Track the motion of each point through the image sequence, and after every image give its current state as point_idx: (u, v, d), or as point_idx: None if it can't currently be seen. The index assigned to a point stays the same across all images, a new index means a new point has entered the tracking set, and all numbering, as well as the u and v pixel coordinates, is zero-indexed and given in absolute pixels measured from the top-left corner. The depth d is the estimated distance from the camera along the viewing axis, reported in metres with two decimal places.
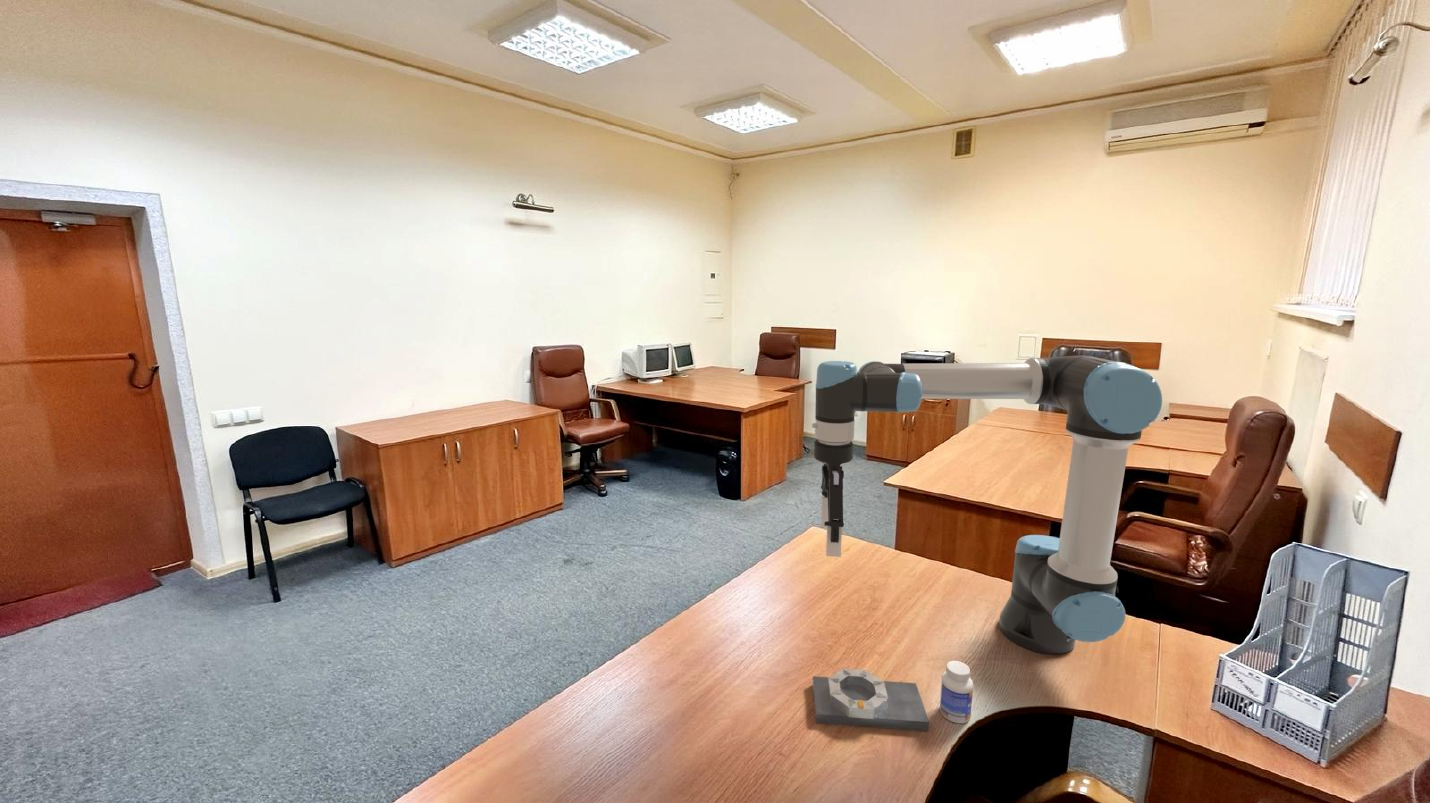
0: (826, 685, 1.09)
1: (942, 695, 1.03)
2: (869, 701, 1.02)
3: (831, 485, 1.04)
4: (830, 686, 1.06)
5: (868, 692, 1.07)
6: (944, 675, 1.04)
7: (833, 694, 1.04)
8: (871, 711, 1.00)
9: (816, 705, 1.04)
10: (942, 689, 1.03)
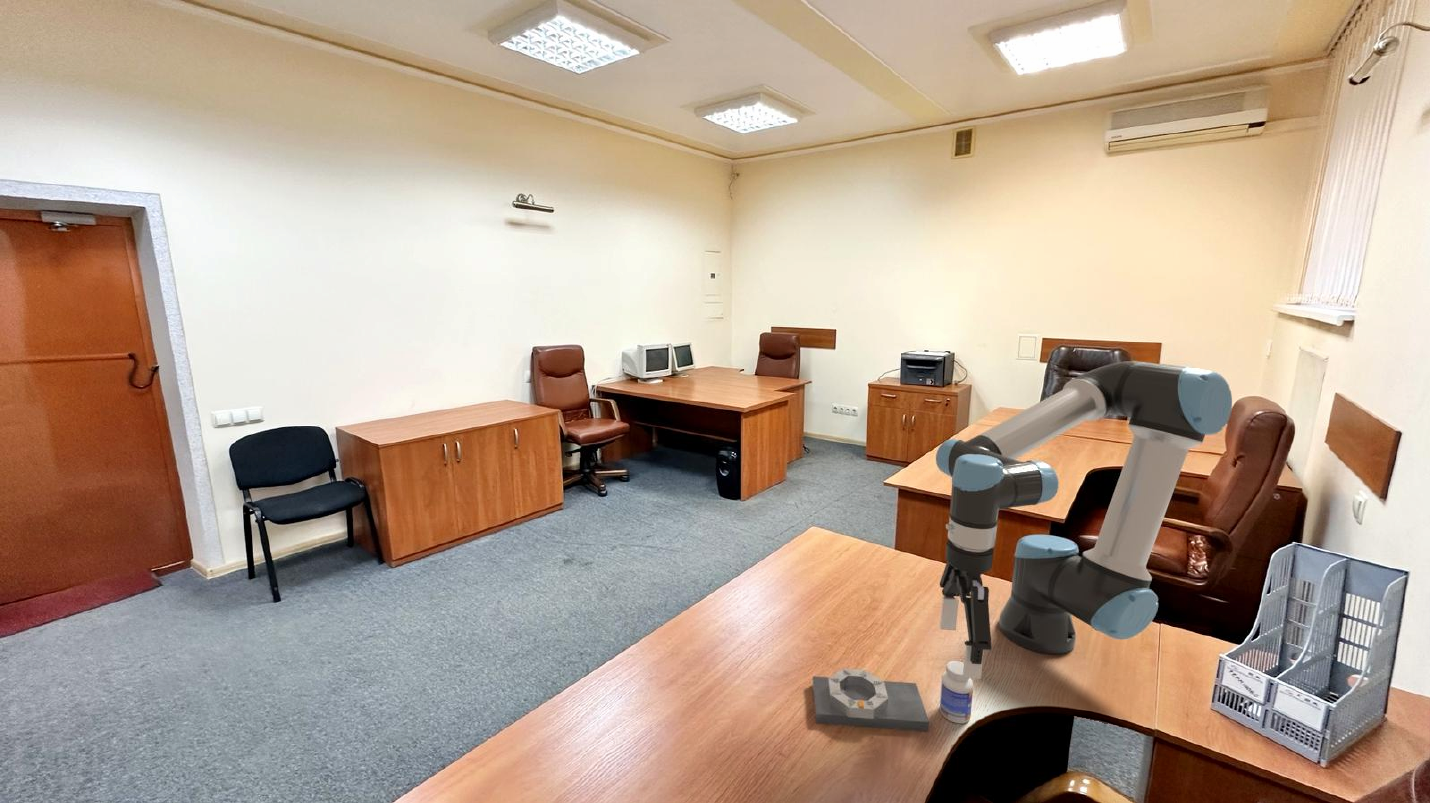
0: (826, 685, 1.09)
1: (942, 695, 1.03)
2: (869, 701, 1.02)
3: (975, 600, 0.92)
4: (830, 686, 1.06)
5: (868, 692, 1.07)
6: (944, 675, 1.04)
7: (833, 694, 1.04)
8: (871, 711, 1.00)
9: (816, 705, 1.04)
10: (942, 689, 1.03)
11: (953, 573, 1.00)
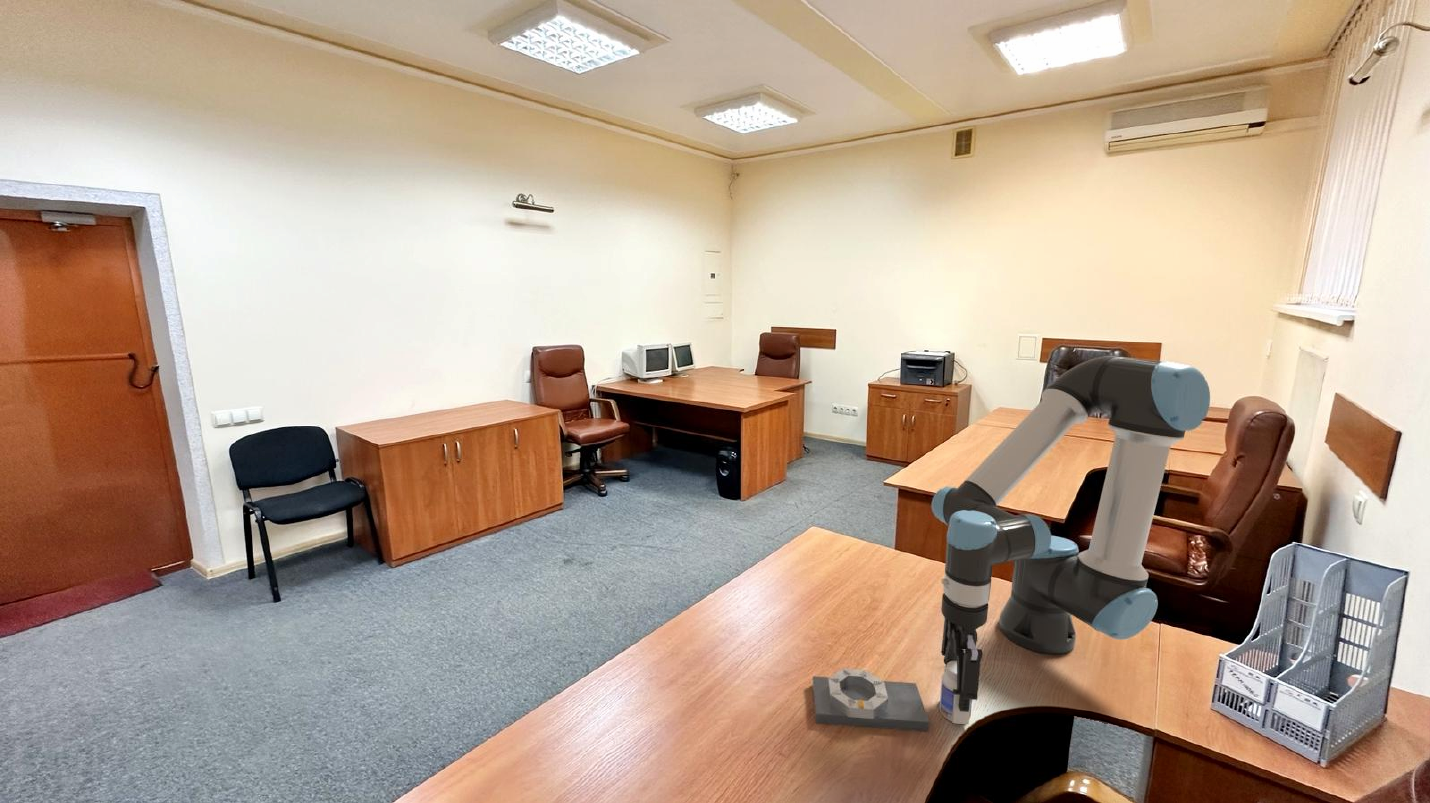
0: (826, 685, 1.09)
1: (942, 695, 1.03)
2: (869, 701, 1.02)
3: (967, 661, 0.95)
4: (830, 686, 1.06)
5: (868, 692, 1.07)
6: (944, 675, 1.04)
7: (833, 694, 1.04)
8: (871, 711, 1.00)
9: (816, 705, 1.04)
10: (942, 689, 1.03)
11: (949, 625, 1.02)
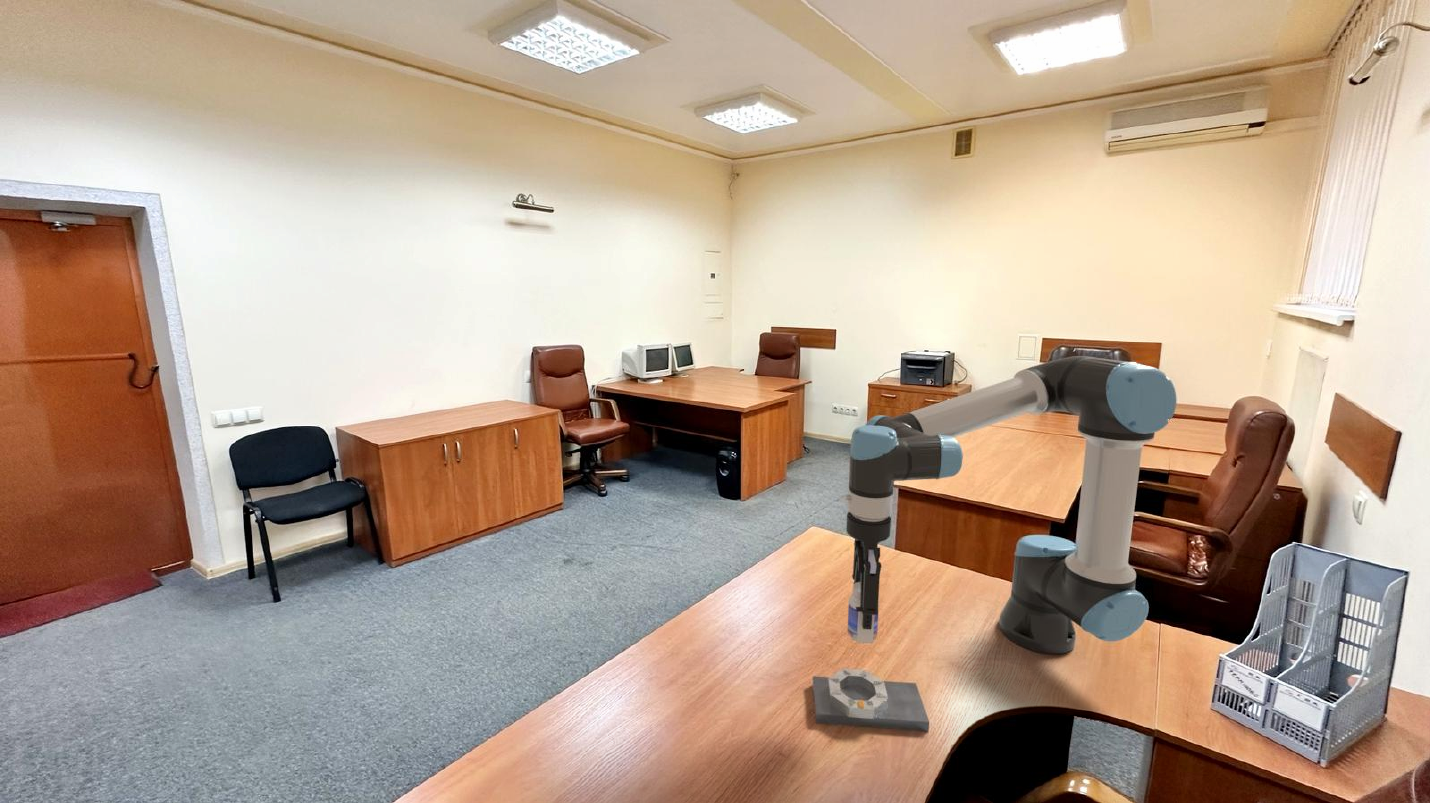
0: (826, 685, 1.09)
1: (849, 616, 1.02)
2: (869, 701, 1.02)
3: (867, 574, 0.94)
4: (830, 686, 1.06)
5: (868, 692, 1.07)
6: (851, 596, 1.02)
7: (833, 694, 1.04)
8: (871, 711, 1.00)
9: (816, 705, 1.04)
10: (848, 610, 1.02)
11: (855, 544, 1.01)
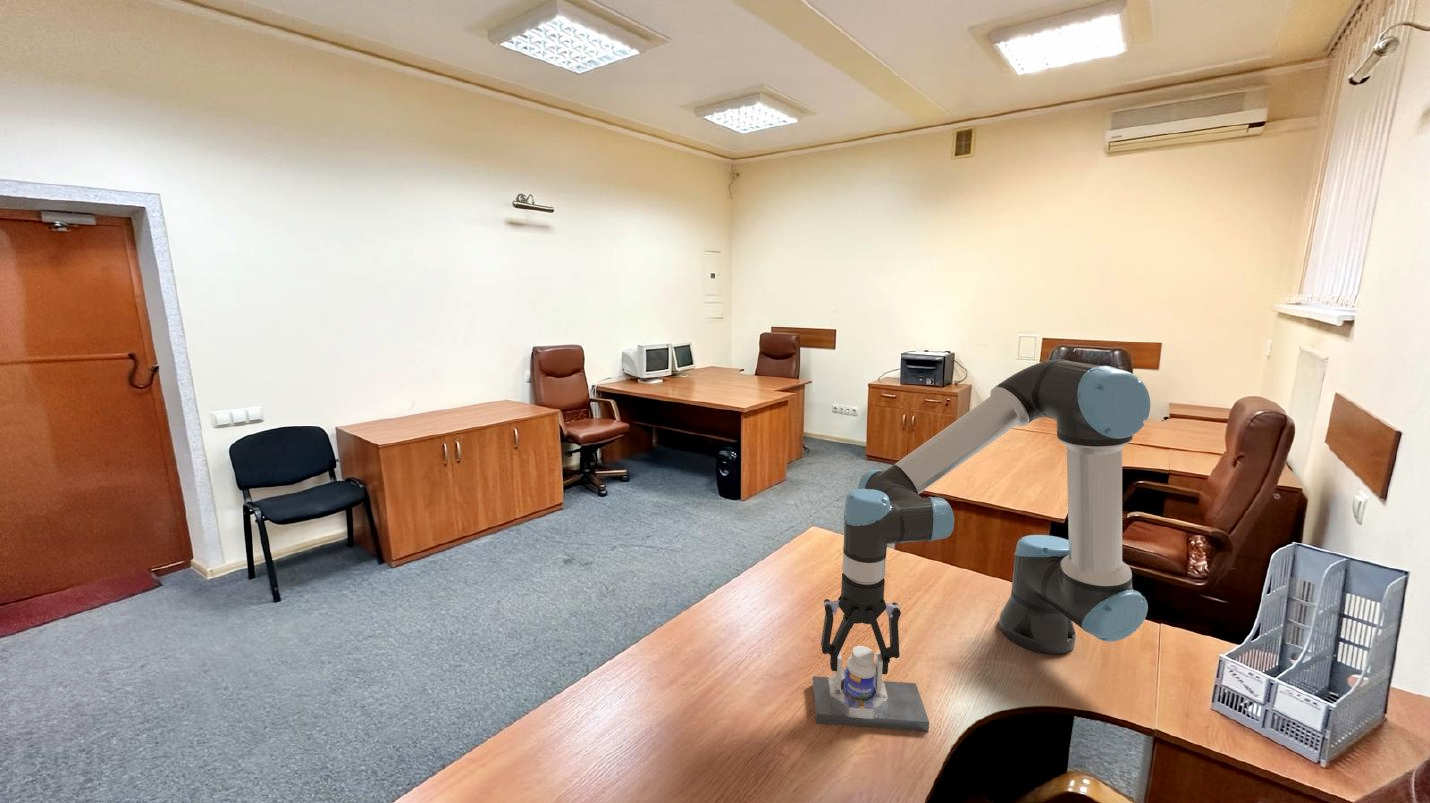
0: (826, 685, 1.09)
1: None
2: (869, 701, 1.02)
3: None
4: (830, 686, 1.06)
5: None
6: None
7: (833, 694, 1.04)
8: (871, 711, 1.00)
9: (816, 705, 1.04)
10: None
11: None
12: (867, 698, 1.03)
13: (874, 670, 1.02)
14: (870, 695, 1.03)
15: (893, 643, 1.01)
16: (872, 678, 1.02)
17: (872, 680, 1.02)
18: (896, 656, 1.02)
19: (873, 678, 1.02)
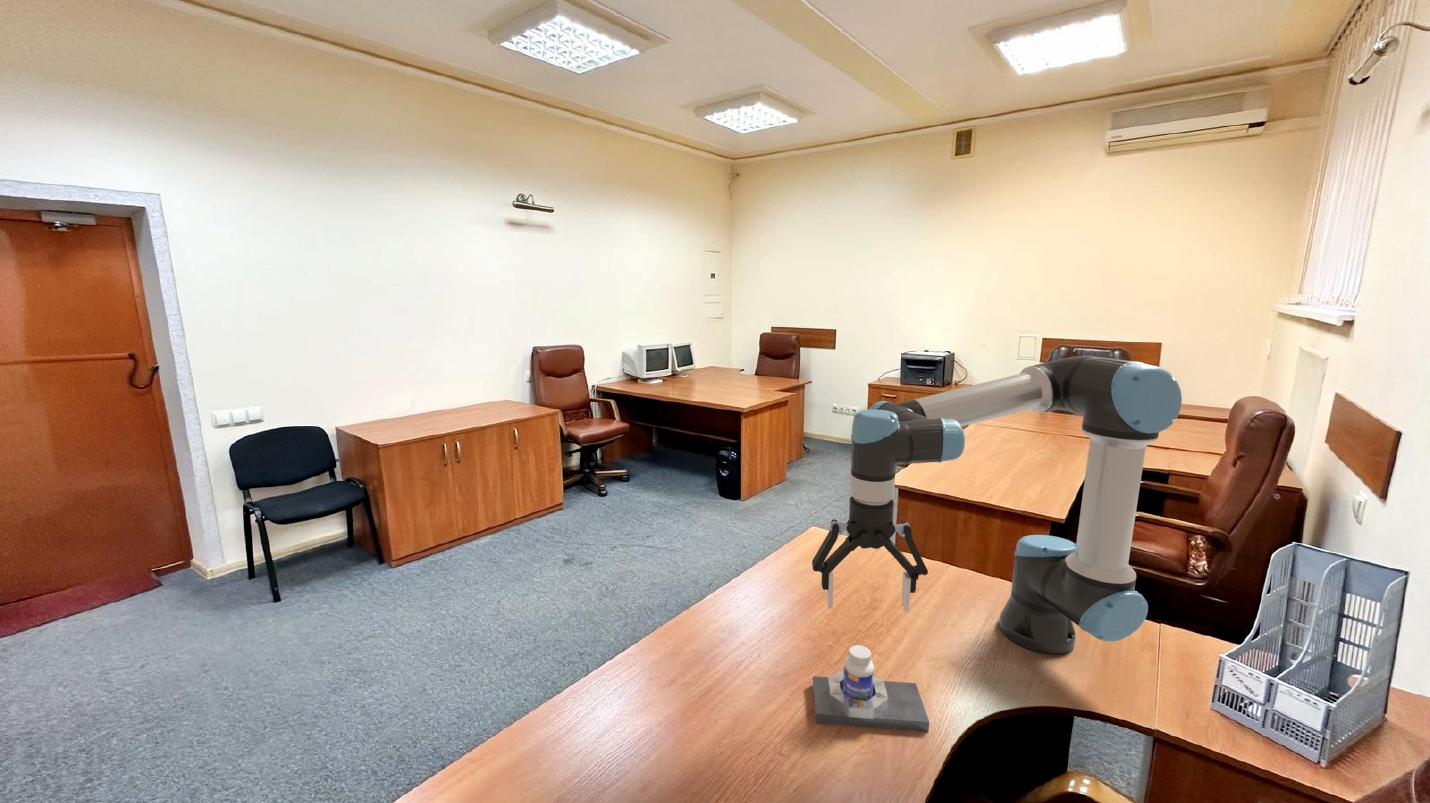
0: (826, 685, 1.09)
1: None
2: (869, 701, 1.02)
3: (830, 530, 1.01)
4: (830, 686, 1.06)
5: None
6: None
7: (833, 694, 1.04)
8: (871, 711, 1.00)
9: (816, 705, 1.04)
10: None
11: None
12: (866, 698, 1.03)
13: (872, 669, 1.03)
14: (869, 695, 1.03)
15: (917, 561, 0.99)
16: (871, 677, 1.03)
17: (870, 679, 1.03)
18: (925, 573, 0.99)
19: (871, 677, 1.03)
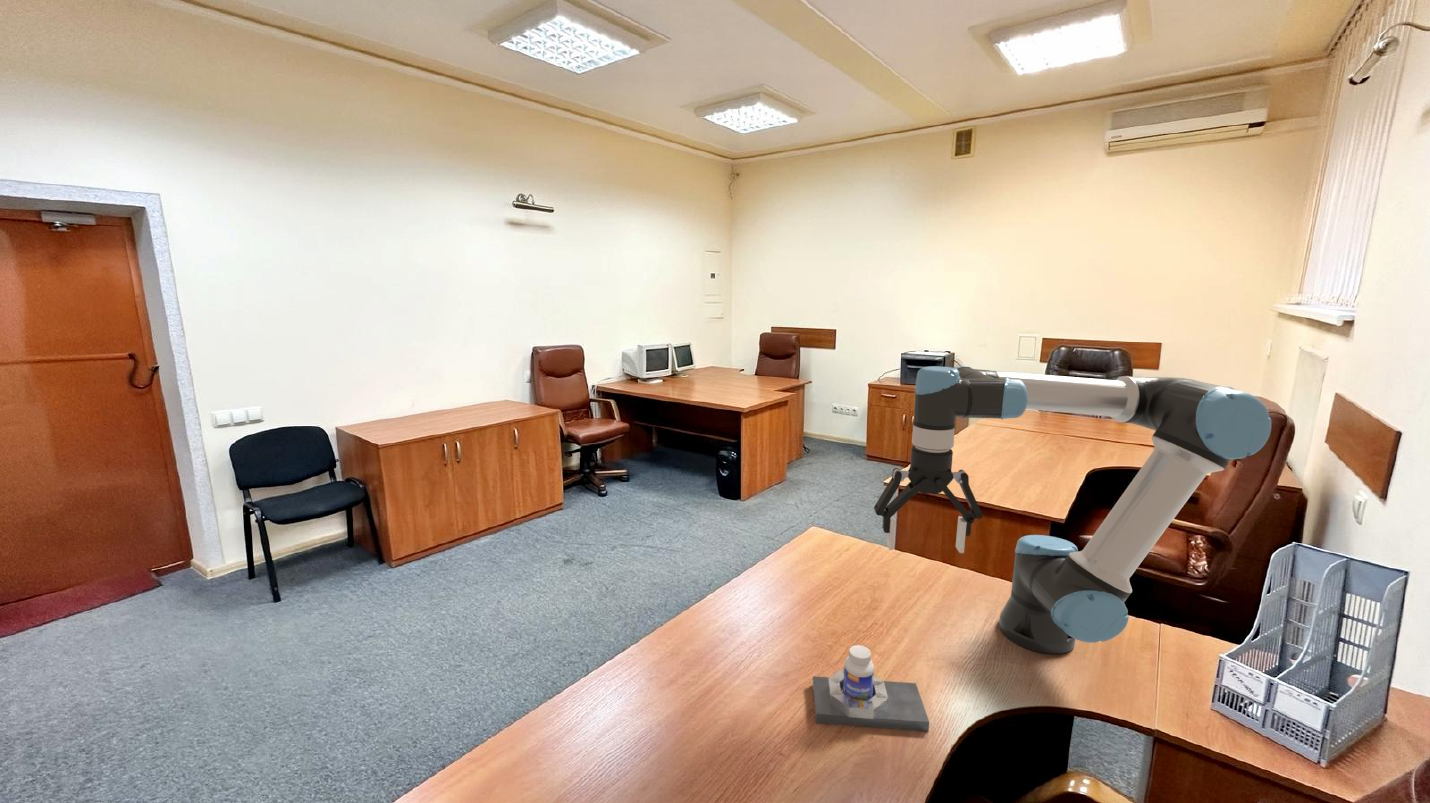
0: (826, 685, 1.09)
1: None
2: (869, 701, 1.02)
3: (892, 478, 1.10)
4: (830, 686, 1.06)
5: None
6: None
7: (833, 694, 1.04)
8: (871, 711, 1.00)
9: (816, 705, 1.04)
10: None
11: None
12: (866, 698, 1.03)
13: (872, 669, 1.03)
14: (869, 695, 1.03)
15: (972, 506, 1.08)
16: (871, 677, 1.03)
17: (870, 679, 1.03)
18: (980, 517, 1.08)
19: (871, 677, 1.03)
